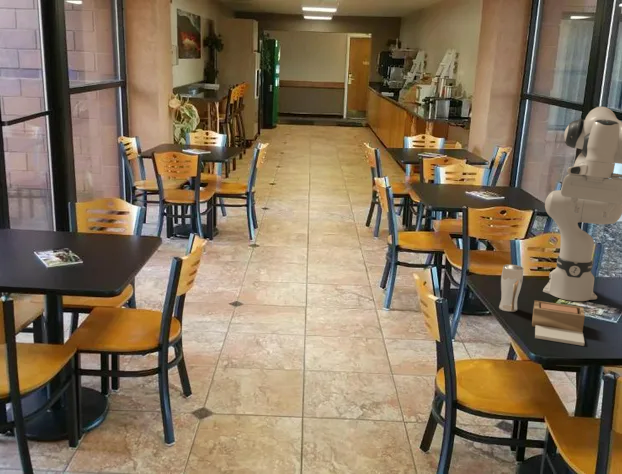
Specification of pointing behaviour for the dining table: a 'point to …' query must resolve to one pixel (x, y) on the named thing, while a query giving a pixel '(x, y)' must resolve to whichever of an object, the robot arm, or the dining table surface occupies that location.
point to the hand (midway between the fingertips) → (590, 214)
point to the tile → (558, 308)
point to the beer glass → (510, 287)
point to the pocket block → (558, 317)
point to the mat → (559, 335)
